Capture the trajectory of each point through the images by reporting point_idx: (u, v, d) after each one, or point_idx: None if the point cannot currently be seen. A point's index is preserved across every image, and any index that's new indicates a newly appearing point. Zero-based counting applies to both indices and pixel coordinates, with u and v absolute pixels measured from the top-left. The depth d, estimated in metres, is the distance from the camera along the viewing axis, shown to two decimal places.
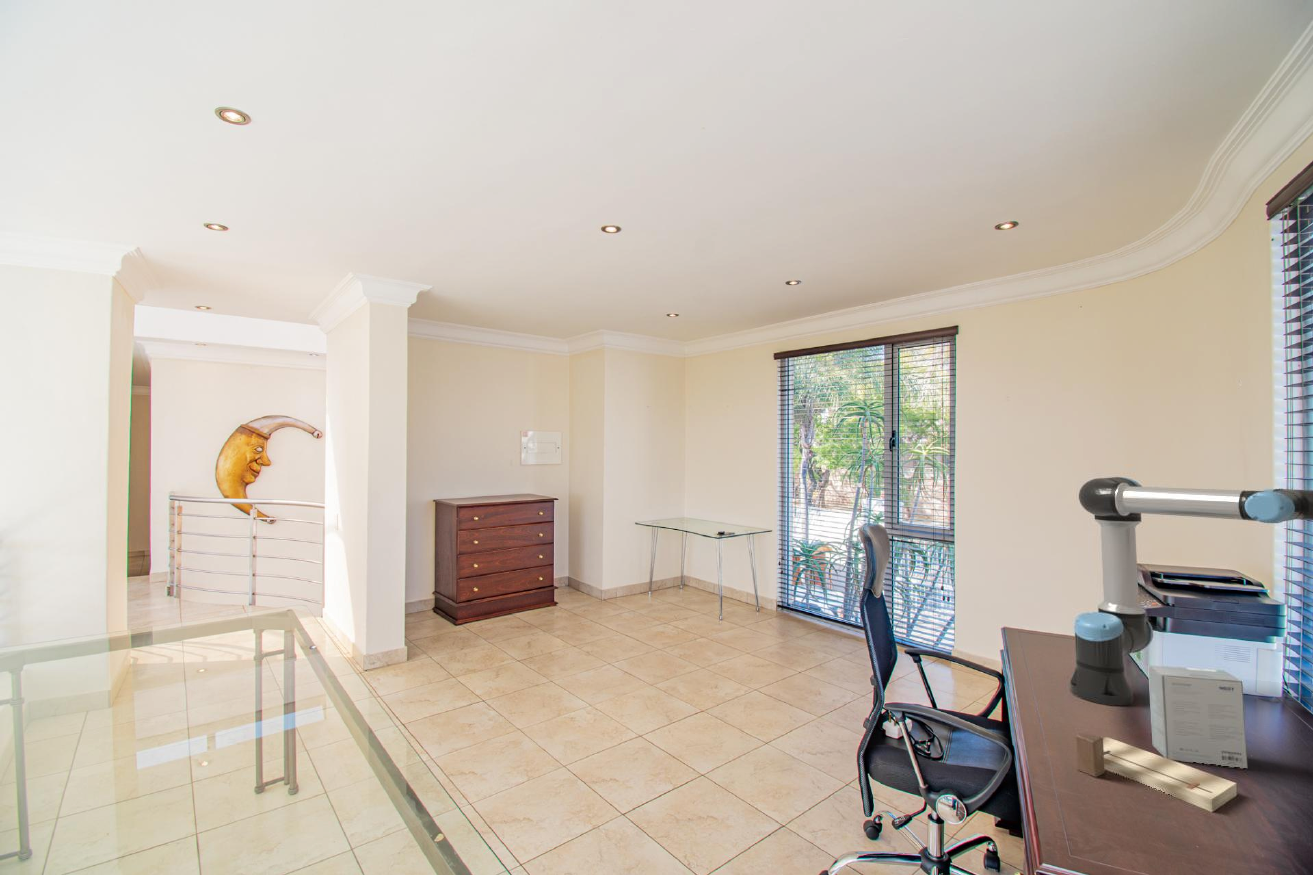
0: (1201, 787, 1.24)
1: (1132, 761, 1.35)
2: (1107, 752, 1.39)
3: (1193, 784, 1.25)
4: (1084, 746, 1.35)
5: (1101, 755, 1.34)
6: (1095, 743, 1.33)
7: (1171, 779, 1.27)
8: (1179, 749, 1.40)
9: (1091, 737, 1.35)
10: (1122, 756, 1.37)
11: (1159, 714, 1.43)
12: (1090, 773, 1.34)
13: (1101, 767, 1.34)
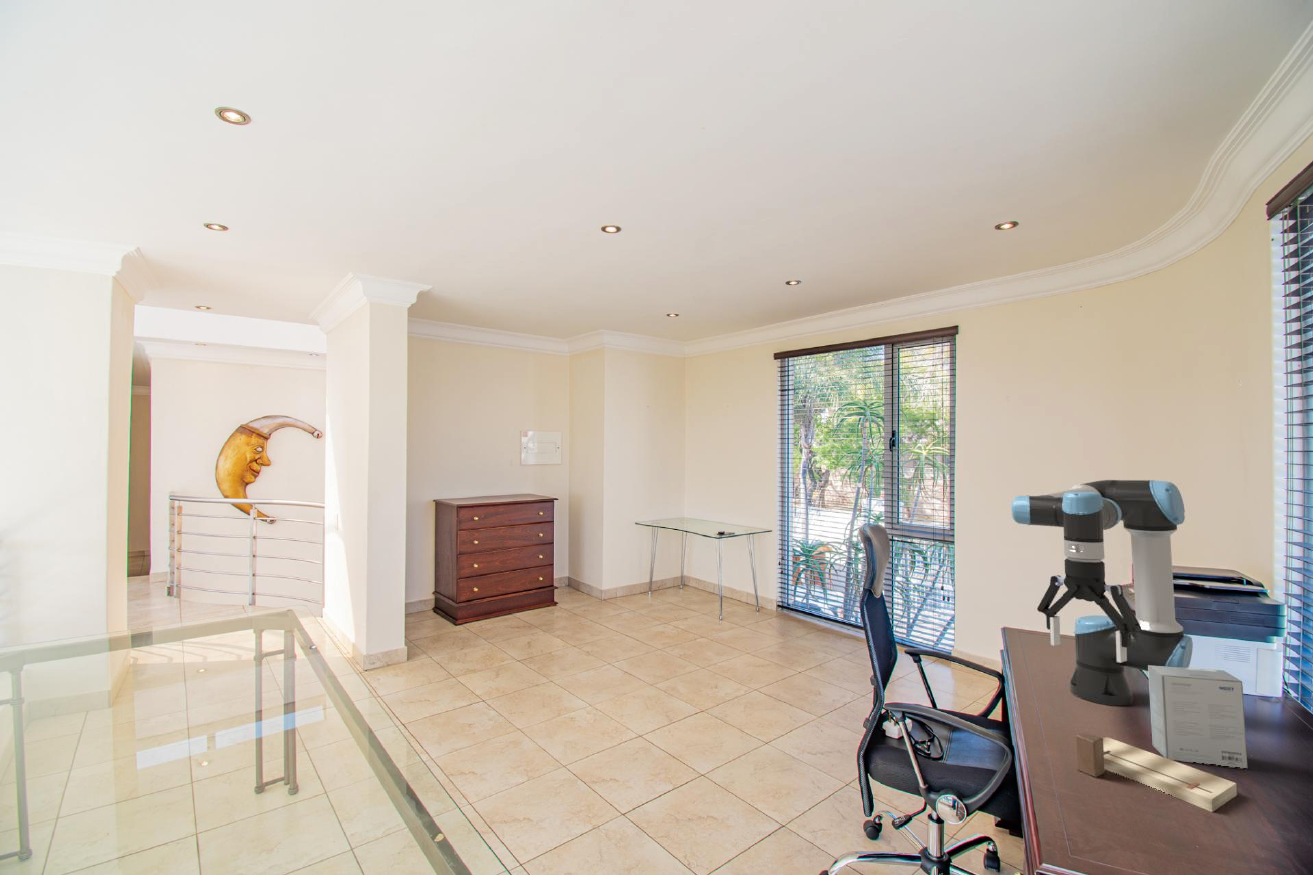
0: (1201, 787, 1.24)
1: (1132, 761, 1.35)
2: (1107, 752, 1.39)
3: (1193, 784, 1.25)
4: (1084, 746, 1.35)
5: (1101, 755, 1.34)
6: (1095, 743, 1.33)
7: (1171, 779, 1.27)
8: (1179, 749, 1.40)
9: (1091, 737, 1.35)
10: (1122, 756, 1.37)
11: (1159, 714, 1.43)
12: (1090, 773, 1.34)
13: (1101, 767, 1.34)
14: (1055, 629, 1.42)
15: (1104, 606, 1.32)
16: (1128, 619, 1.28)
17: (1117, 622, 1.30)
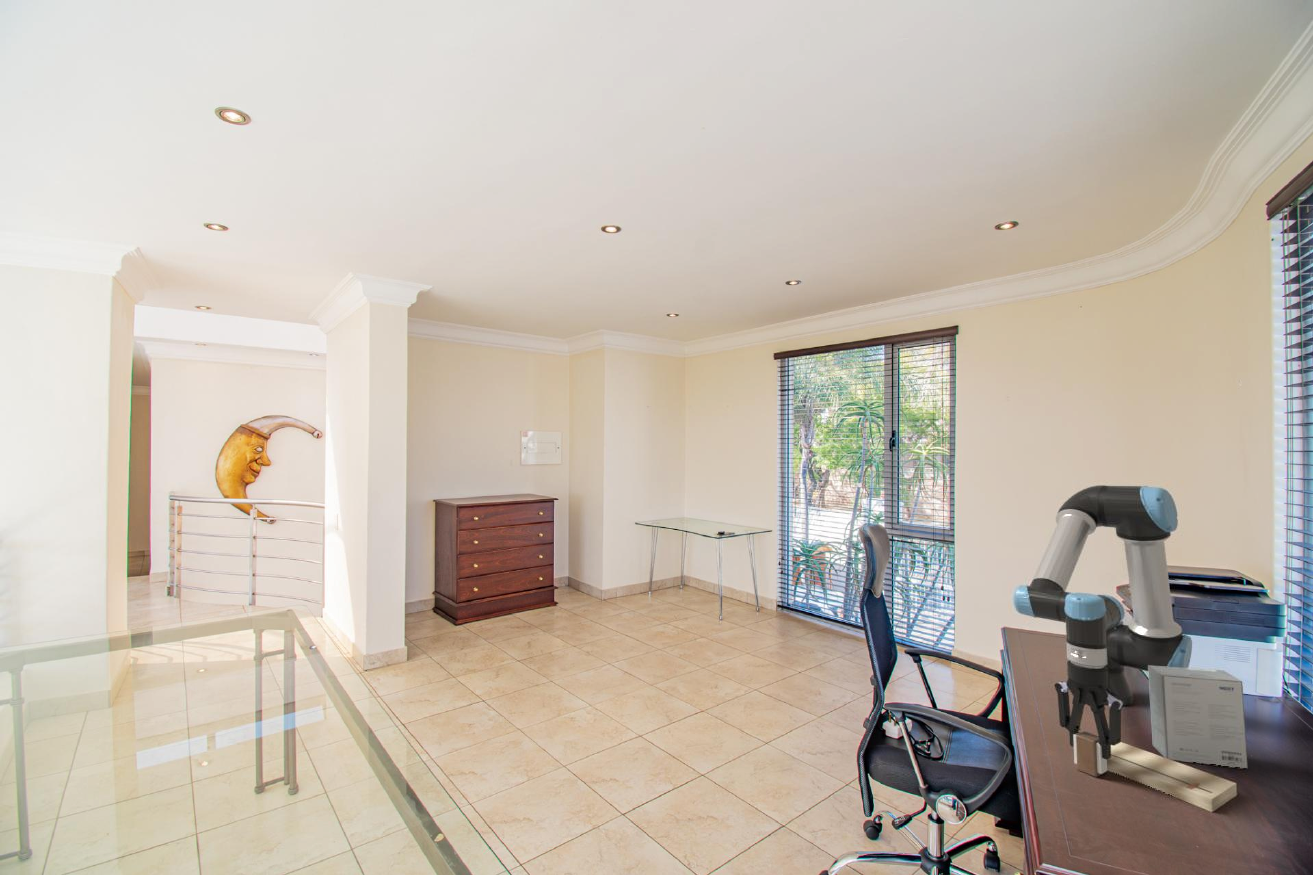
0: (1201, 787, 1.24)
1: (1132, 761, 1.35)
2: None
3: (1193, 784, 1.25)
4: (1084, 746, 1.35)
5: None
6: (1095, 743, 1.33)
7: (1171, 779, 1.27)
8: (1179, 749, 1.40)
9: (1091, 736, 1.35)
10: (1122, 756, 1.37)
11: (1159, 714, 1.43)
12: (1090, 773, 1.34)
13: None
14: None
15: (1097, 716, 1.33)
16: (1113, 734, 1.31)
17: (1101, 734, 1.32)
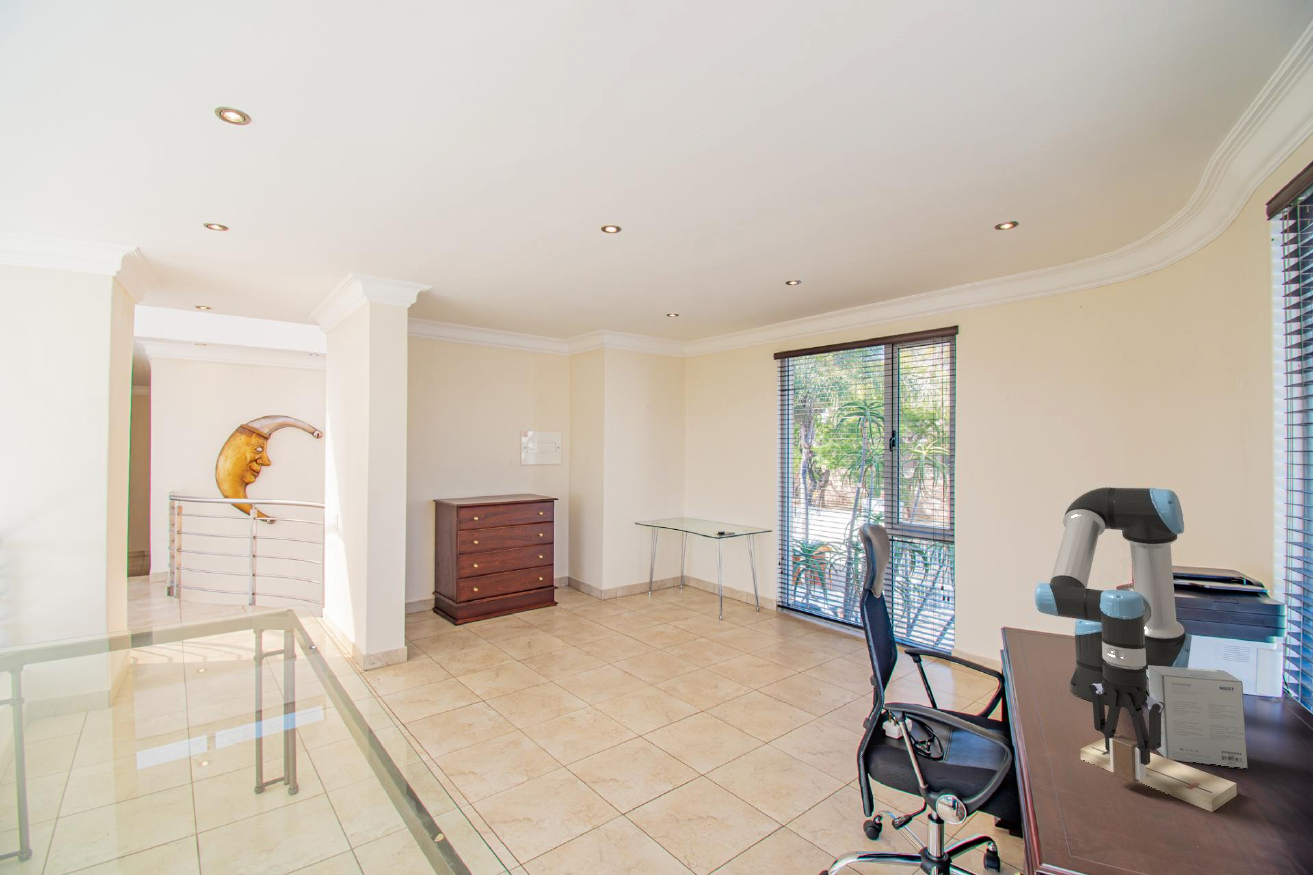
0: (1201, 787, 1.24)
1: None
2: (1107, 752, 1.39)
3: (1193, 784, 1.25)
4: (1121, 750, 1.28)
5: None
6: (1133, 747, 1.27)
7: (1171, 779, 1.27)
8: (1179, 749, 1.40)
9: (1129, 741, 1.29)
10: None
11: None
12: (1128, 779, 1.27)
13: None
14: None
15: (1136, 719, 1.27)
16: (1153, 738, 1.24)
17: (1140, 738, 1.26)
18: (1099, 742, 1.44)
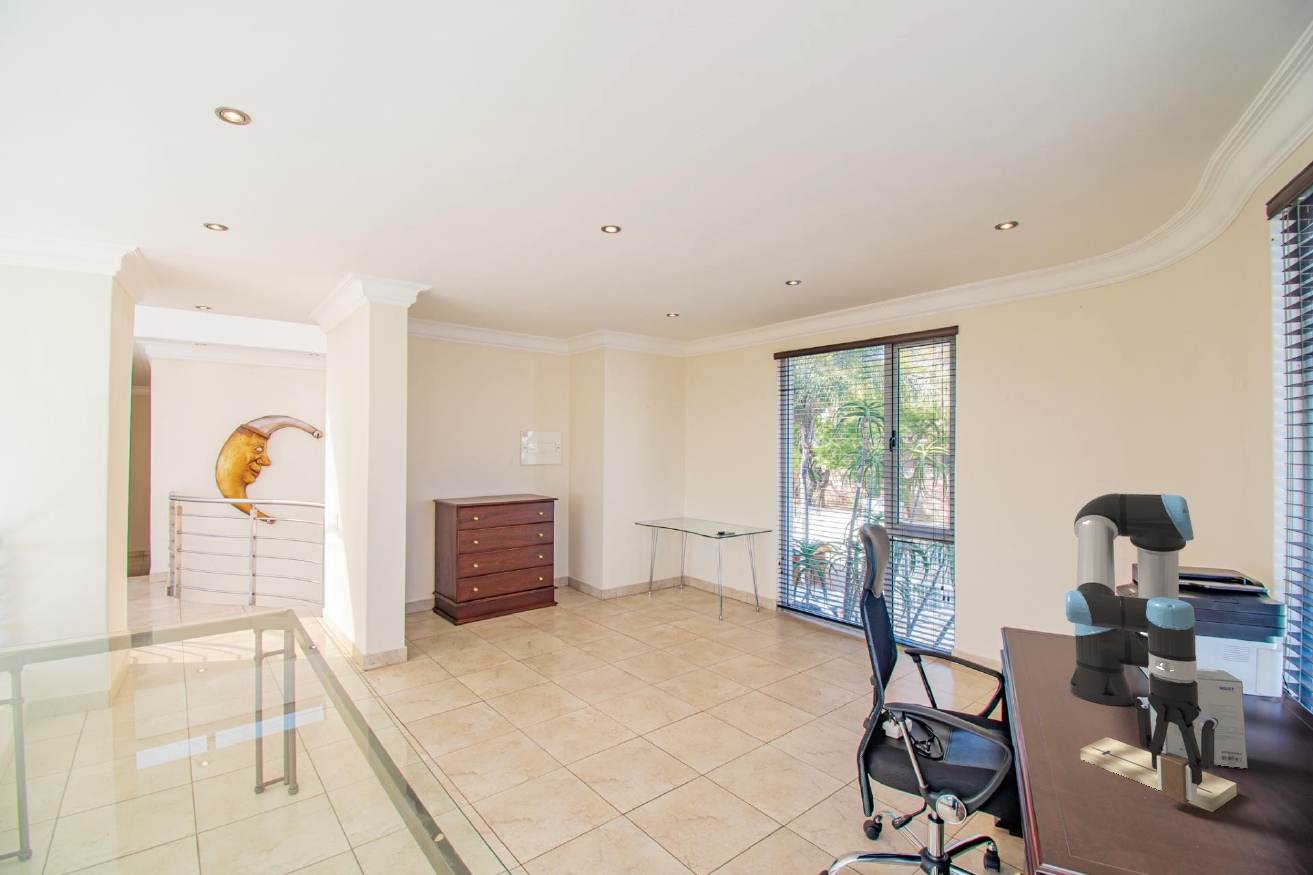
0: (1201, 787, 1.24)
1: (1132, 761, 1.35)
2: (1107, 752, 1.39)
3: None
4: (1170, 769, 1.21)
5: None
6: (1184, 766, 1.19)
7: None
8: (1179, 749, 1.40)
9: (1178, 758, 1.21)
10: (1122, 756, 1.37)
11: None
12: (1178, 799, 1.20)
13: None
14: None
15: (1186, 736, 1.19)
16: (1206, 756, 1.17)
17: (1192, 756, 1.19)
18: (1099, 742, 1.44)
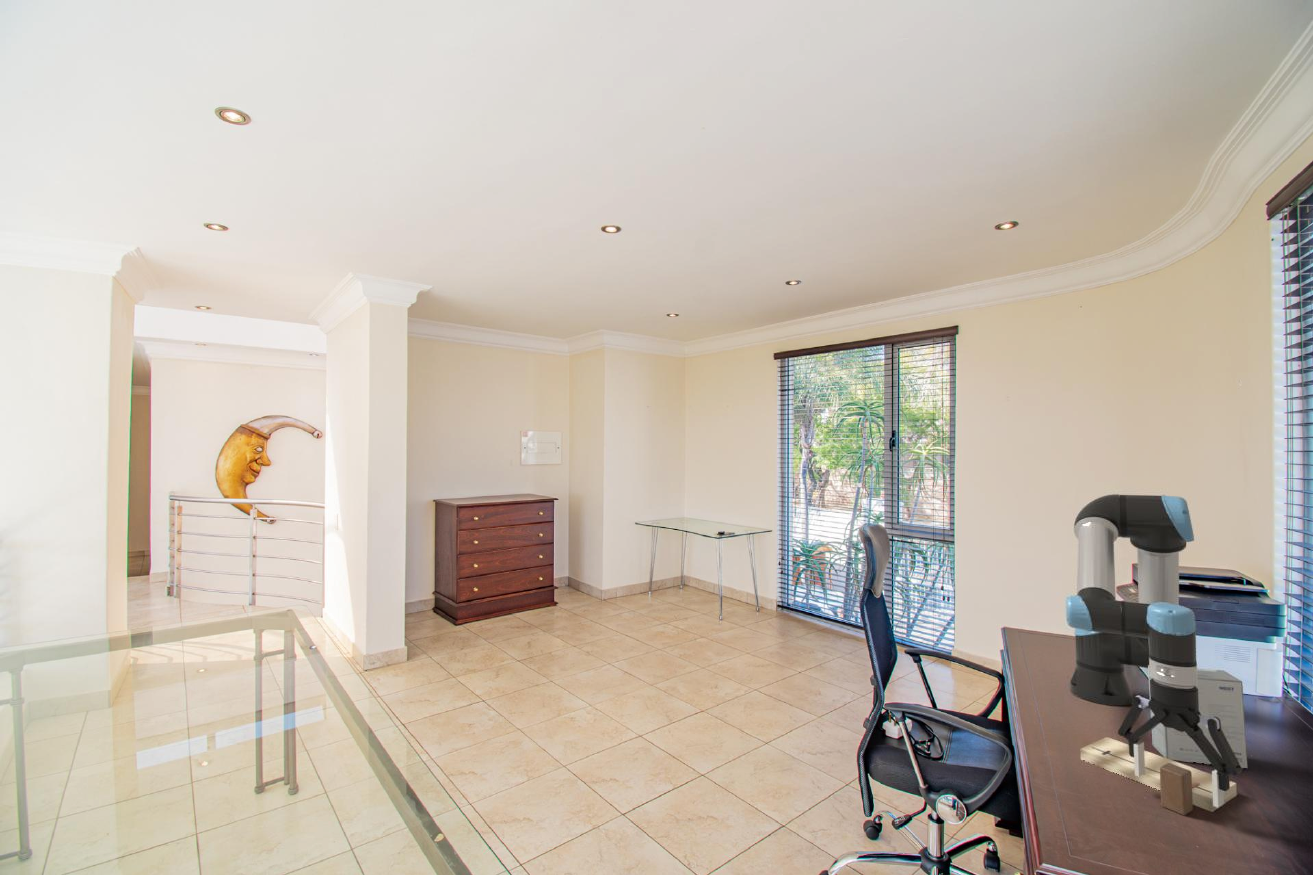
0: (1201, 787, 1.24)
1: (1132, 761, 1.35)
2: (1107, 752, 1.39)
3: (1193, 784, 1.25)
4: (1170, 780, 1.20)
5: (1189, 790, 1.20)
6: (1183, 777, 1.19)
7: None
8: (1179, 749, 1.40)
9: (1178, 769, 1.21)
10: (1122, 756, 1.37)
11: None
12: (1178, 811, 1.19)
13: (1190, 804, 1.20)
14: (1139, 757, 1.27)
15: (1198, 740, 1.18)
16: (1228, 760, 1.14)
17: (1214, 761, 1.16)
18: (1099, 742, 1.44)
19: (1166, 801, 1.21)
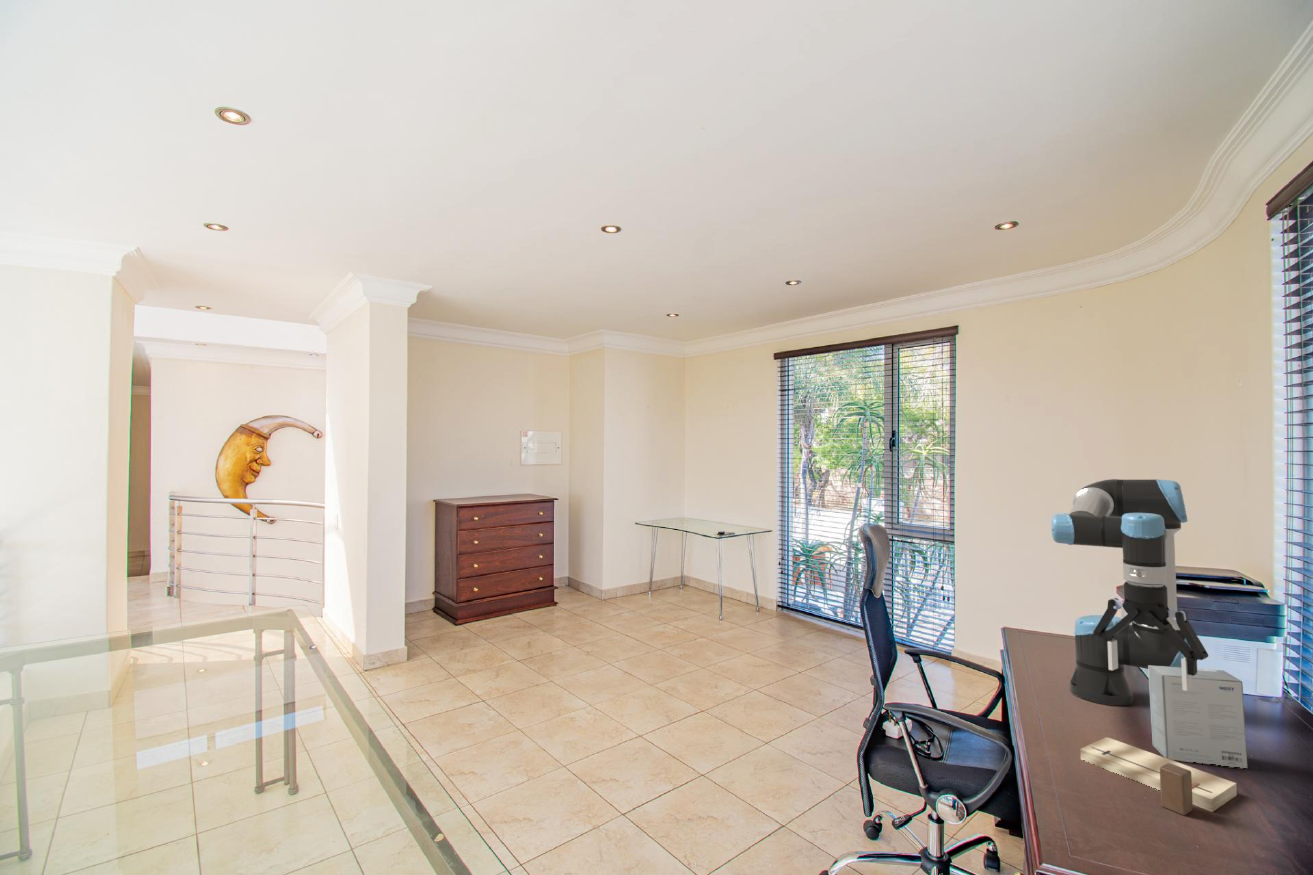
0: (1201, 787, 1.24)
1: (1132, 761, 1.35)
2: (1107, 752, 1.39)
3: (1193, 784, 1.25)
4: (1170, 780, 1.21)
5: (1189, 790, 1.20)
6: (1183, 777, 1.19)
7: None
8: (1179, 749, 1.40)
9: (1177, 769, 1.21)
10: (1122, 756, 1.37)
11: (1159, 714, 1.43)
12: (1178, 811, 1.19)
13: (1190, 804, 1.20)
14: (1113, 653, 1.38)
15: (1168, 632, 1.28)
16: (1195, 647, 1.24)
17: (1183, 649, 1.26)
18: (1099, 742, 1.44)
19: (1166, 801, 1.21)
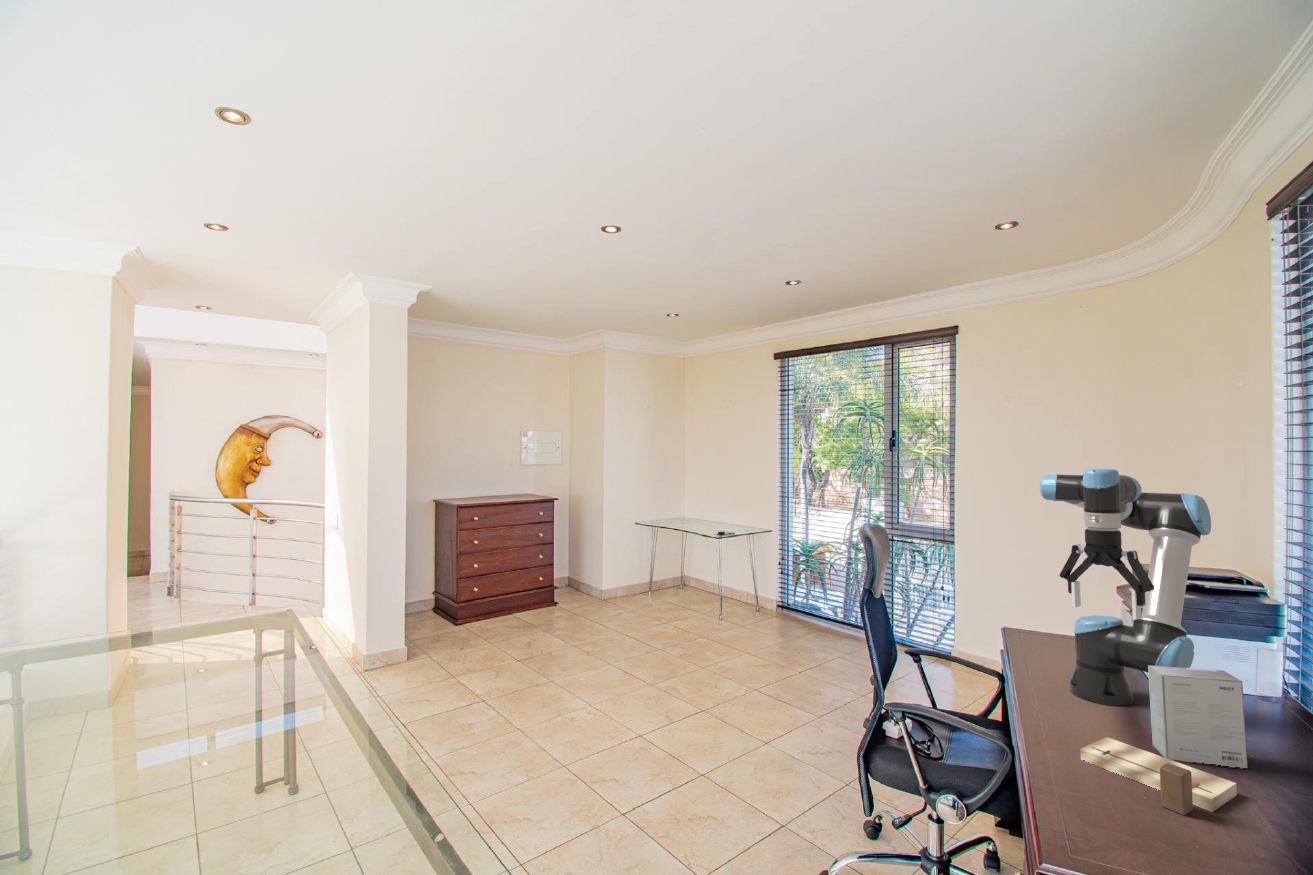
0: (1201, 787, 1.24)
1: (1132, 761, 1.35)
2: (1107, 752, 1.39)
3: (1193, 784, 1.25)
4: (1170, 780, 1.21)
5: (1189, 790, 1.20)
6: (1183, 777, 1.19)
7: None
8: (1179, 749, 1.40)
9: (1177, 769, 1.21)
10: (1122, 756, 1.37)
11: (1159, 714, 1.43)
12: (1178, 811, 1.19)
13: (1190, 804, 1.20)
14: (1076, 592, 1.58)
15: (1121, 570, 1.48)
16: (1143, 580, 1.44)
17: (1133, 584, 1.46)
18: (1099, 742, 1.44)
19: (1166, 801, 1.21)
